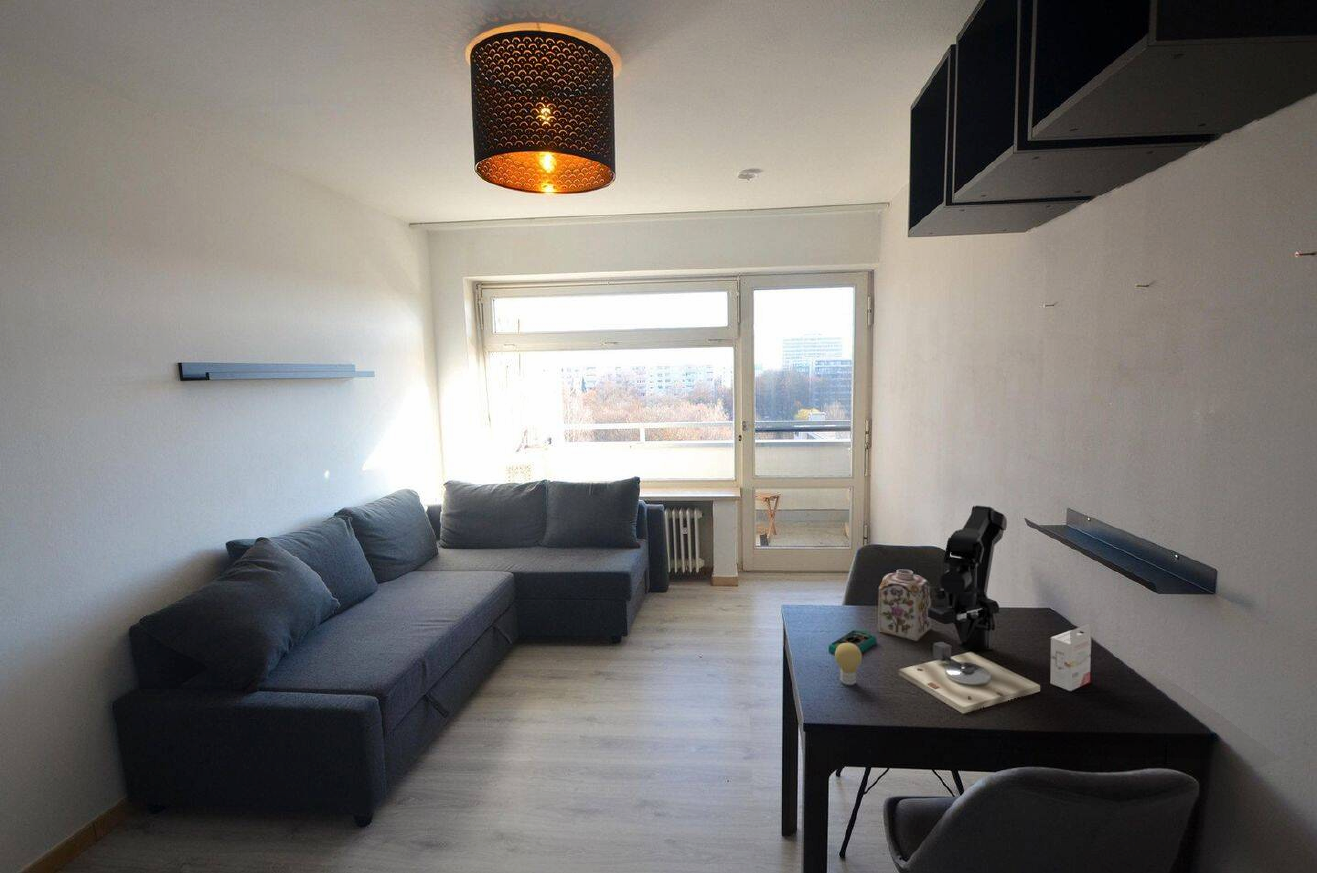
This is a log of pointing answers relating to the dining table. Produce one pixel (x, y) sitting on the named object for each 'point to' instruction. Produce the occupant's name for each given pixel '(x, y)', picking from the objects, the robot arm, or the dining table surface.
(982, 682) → the dial
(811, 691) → the dining table surface
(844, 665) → the light bulb
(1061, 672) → the ink cartridge box
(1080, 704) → the dining table surface
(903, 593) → the decorative jar
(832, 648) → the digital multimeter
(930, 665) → the dial board
